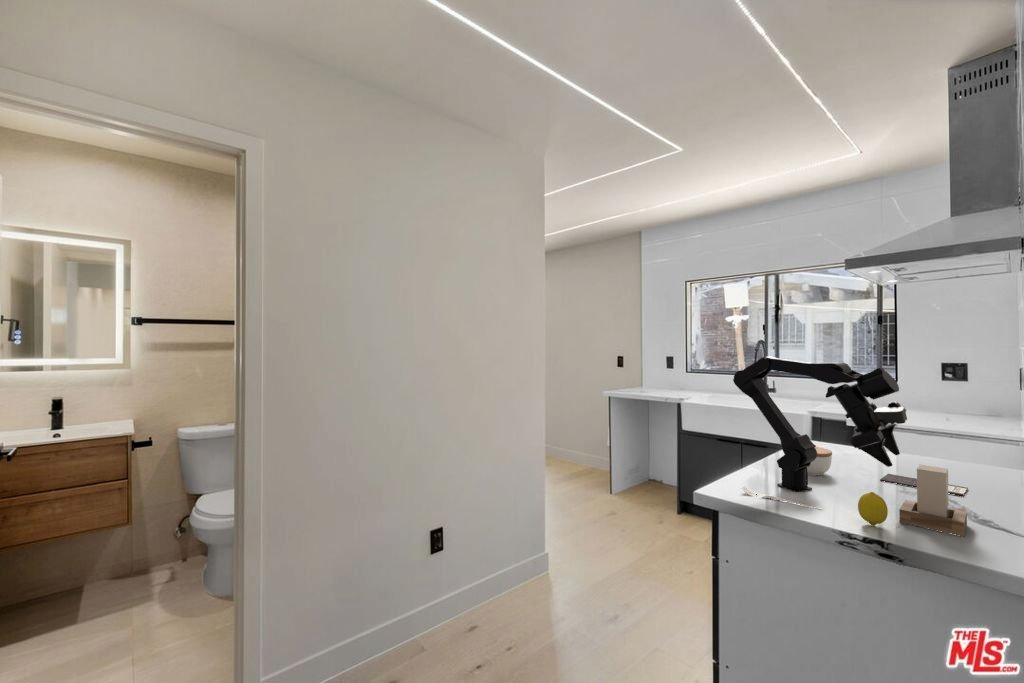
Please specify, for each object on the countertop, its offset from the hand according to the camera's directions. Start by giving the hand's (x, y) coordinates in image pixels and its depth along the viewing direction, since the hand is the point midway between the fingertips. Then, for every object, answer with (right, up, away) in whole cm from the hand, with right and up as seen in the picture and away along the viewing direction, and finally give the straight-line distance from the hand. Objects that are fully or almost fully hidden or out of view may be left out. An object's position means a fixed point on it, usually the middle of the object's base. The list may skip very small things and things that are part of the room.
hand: (894, 460), depth 116 cm
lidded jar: (0, -13, +31) cm, 34 cm away
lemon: (-13, -13, -9) cm, 21 cm away
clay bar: (+2, -12, -9) cm, 15 cm away
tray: (+2, -13, -9) cm, 16 cm away
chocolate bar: (+24, -13, +18) cm, 32 cm away
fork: (-25, -14, +8) cm, 29 cm away
